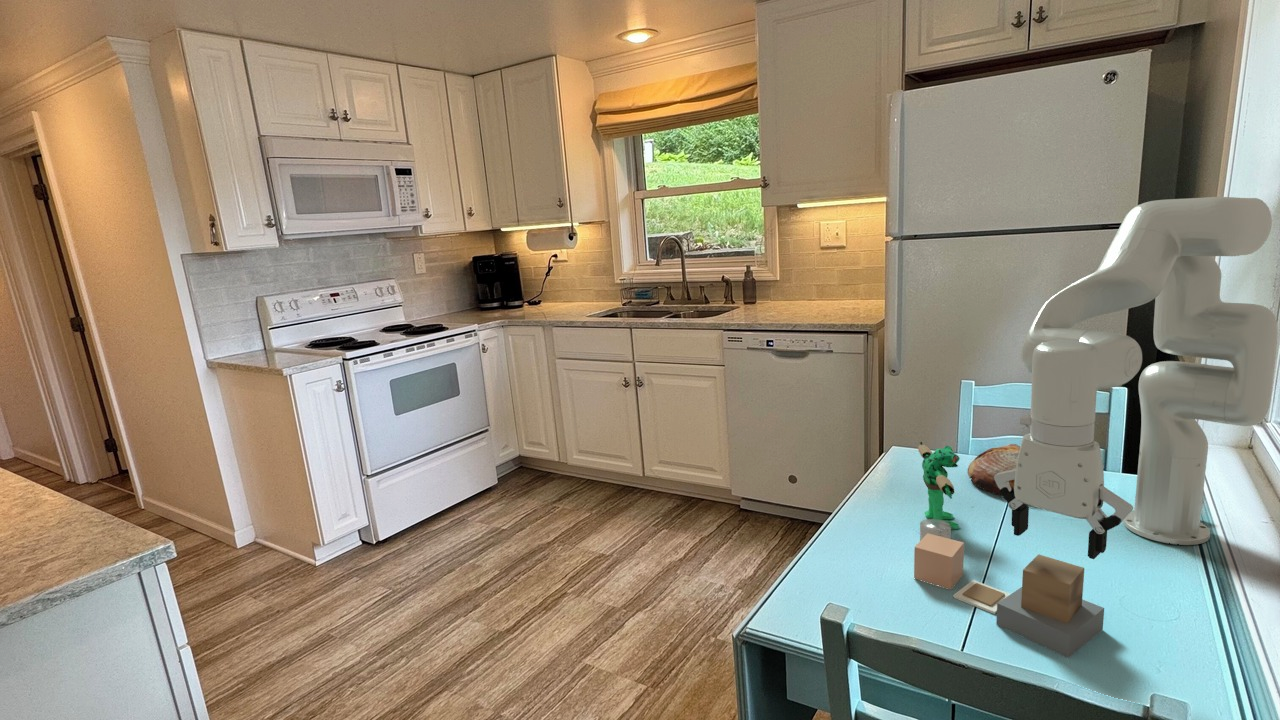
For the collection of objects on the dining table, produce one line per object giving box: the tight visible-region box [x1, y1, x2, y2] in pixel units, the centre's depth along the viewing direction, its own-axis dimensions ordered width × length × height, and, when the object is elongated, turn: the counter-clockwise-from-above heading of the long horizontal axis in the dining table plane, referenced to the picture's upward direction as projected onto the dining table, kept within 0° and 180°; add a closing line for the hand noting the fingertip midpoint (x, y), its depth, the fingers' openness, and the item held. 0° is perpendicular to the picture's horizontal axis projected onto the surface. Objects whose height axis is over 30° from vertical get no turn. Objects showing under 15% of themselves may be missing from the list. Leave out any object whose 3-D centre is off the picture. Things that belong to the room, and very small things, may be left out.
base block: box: [995, 586, 1105, 659], centre depth 98 cm, size 10×10×4 cm
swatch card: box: [952, 579, 1011, 615], centre depth 106 cm, size 6×6×1 cm
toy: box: [917, 441, 961, 530], centre depth 131 cm, size 26×6×15 cm, turn 168°
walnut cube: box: [1021, 554, 1085, 624], centre depth 97 cm, size 6×6×6 cm
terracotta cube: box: [913, 533, 965, 590], centre depth 113 cm, size 6×6×6 cm
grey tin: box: [919, 518, 952, 542], centre depth 119 cm, size 5×5×6 cm
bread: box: [966, 443, 1021, 497], centre depth 145 cm, size 16×20×10 cm
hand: (1056, 543), depth 96 cm, fingers open, 9 cm apart
